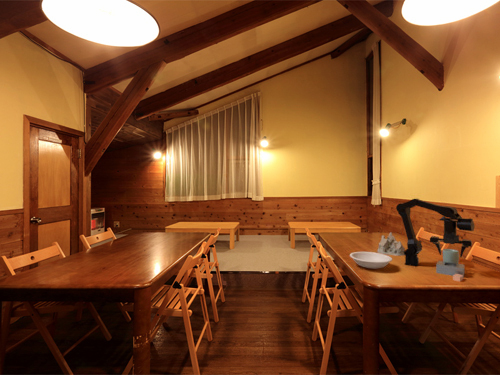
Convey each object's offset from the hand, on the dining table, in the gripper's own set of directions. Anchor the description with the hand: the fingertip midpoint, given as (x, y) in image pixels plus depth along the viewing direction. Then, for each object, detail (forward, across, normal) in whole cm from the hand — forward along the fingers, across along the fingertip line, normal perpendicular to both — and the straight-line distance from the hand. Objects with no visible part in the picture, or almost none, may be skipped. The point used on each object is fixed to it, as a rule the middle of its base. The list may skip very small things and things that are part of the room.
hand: (450, 256), depth 146 cm
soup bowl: (+10, -38, -17) cm, 43 cm away
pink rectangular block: (+10, +4, -10) cm, 15 cm away
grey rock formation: (+10, -38, +27) cm, 47 cm away
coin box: (+10, 0, 0) cm, 10 cm away
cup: (+10, -1, +16) cm, 18 cm away
